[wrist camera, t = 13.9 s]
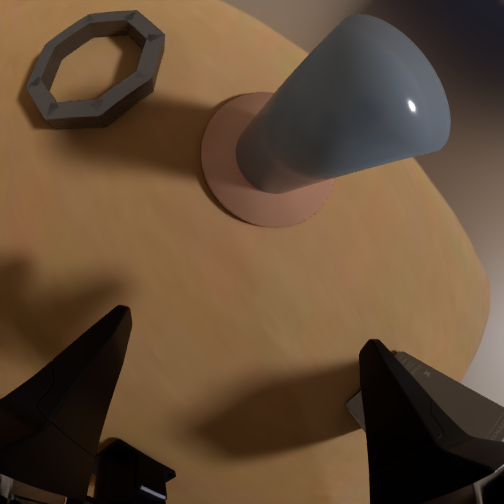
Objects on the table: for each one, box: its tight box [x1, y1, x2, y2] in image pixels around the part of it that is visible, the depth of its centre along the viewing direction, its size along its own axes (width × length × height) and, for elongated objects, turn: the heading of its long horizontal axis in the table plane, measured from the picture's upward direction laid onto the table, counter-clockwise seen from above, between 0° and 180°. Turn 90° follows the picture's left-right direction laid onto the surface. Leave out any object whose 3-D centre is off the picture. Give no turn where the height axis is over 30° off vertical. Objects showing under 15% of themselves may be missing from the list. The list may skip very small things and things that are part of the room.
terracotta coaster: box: [201, 92, 335, 228], centre depth 18 cm, size 10×10×1 cm
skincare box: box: [345, 351, 504, 442], centre depth 16 cm, size 8×7×16 cm
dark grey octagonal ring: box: [26, 10, 165, 130], centre depth 13 cm, size 10×10×2 cm
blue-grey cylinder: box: [236, 14, 450, 194], centre depth 12 cm, size 5×5×12 cm
